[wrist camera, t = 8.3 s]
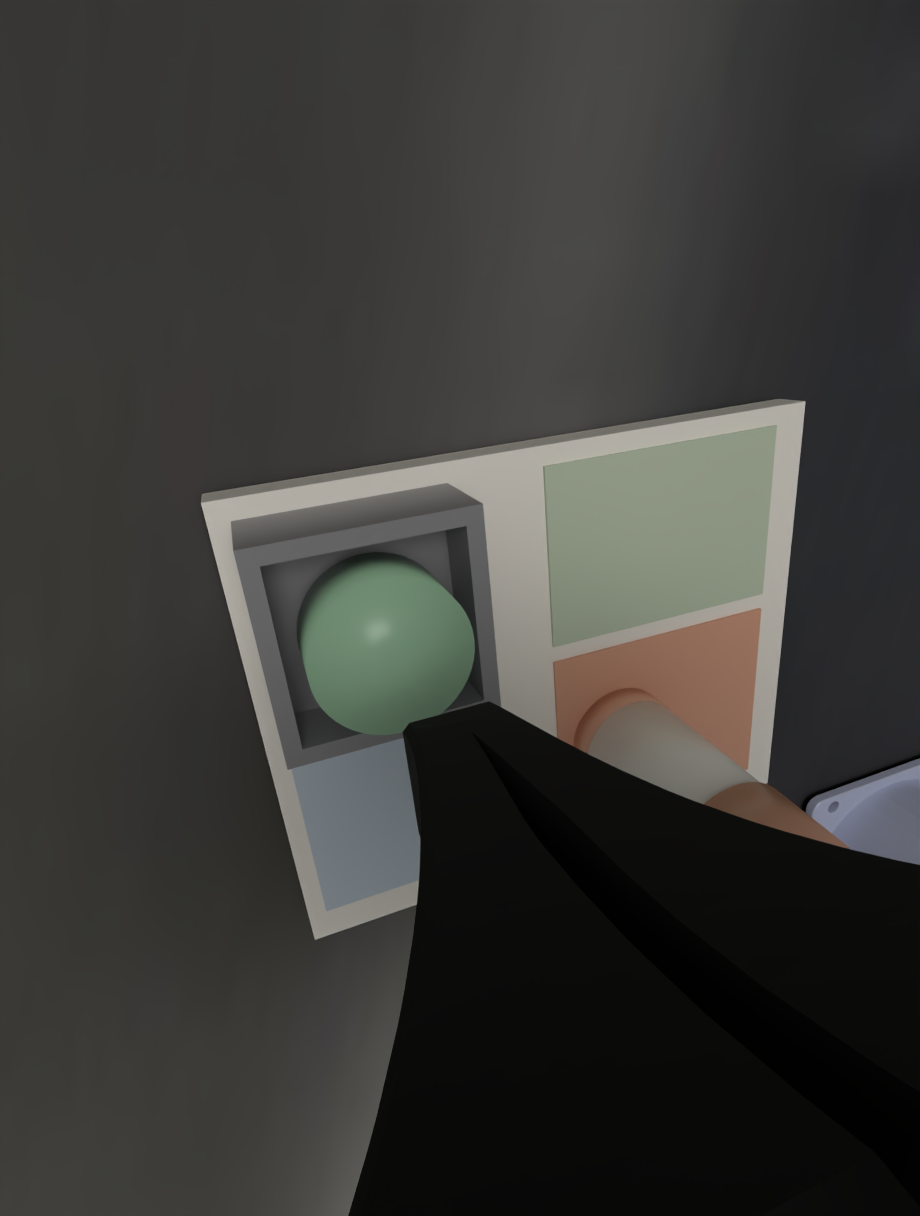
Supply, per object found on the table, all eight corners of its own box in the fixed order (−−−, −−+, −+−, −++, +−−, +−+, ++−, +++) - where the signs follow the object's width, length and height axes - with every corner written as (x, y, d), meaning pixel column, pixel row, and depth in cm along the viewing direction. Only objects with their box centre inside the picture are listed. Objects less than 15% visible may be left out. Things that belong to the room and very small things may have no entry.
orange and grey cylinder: (665, 674, 20) (865, 819, 14) (662, 761, 21) (845, 930, 15) (569, 700, 19) (737, 867, 13) (572, 790, 20) (727, 981, 14)
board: (778, 398, 19) (808, 401, 18) (747, 767, 24) (769, 784, 23) (201, 494, 15) (201, 503, 14) (310, 913, 20) (315, 942, 19)
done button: (438, 538, 15) (466, 561, 13) (455, 674, 16) (481, 710, 14) (281, 569, 14) (290, 599, 12) (313, 711, 15) (324, 754, 13)
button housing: (447, 482, 16) (482, 503, 14) (467, 667, 18) (501, 710, 16) (230, 520, 15) (233, 550, 12) (278, 716, 16) (287, 769, 14)
